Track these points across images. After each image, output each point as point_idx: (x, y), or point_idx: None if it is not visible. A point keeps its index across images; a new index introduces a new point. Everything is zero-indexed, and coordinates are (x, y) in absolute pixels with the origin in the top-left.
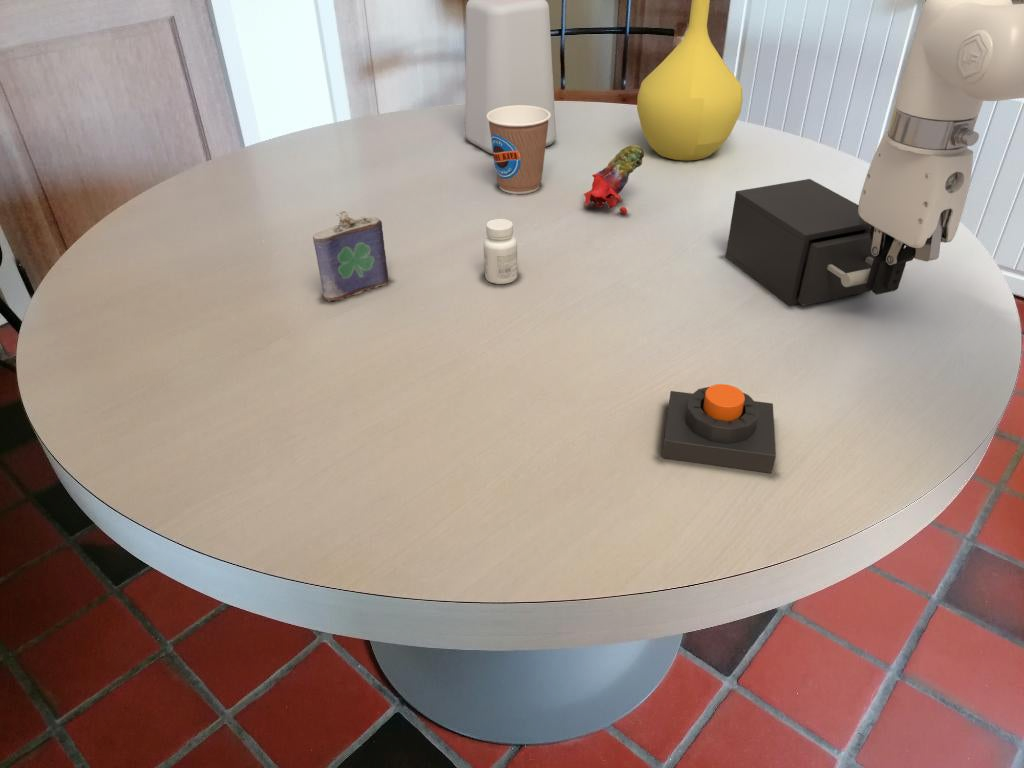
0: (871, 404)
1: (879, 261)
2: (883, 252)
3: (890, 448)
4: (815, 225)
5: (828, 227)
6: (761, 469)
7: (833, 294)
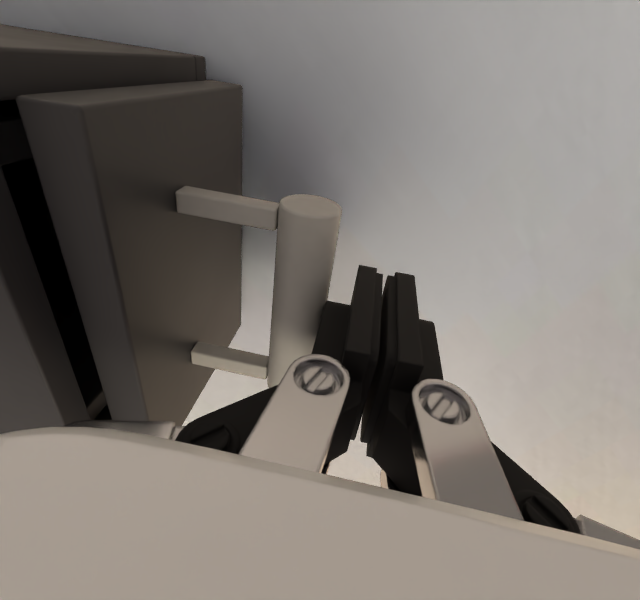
0: (555, 446)
1: (353, 439)
2: (339, 453)
3: (636, 500)
4: (8, 424)
5: (30, 406)
6: None
7: (236, 256)
